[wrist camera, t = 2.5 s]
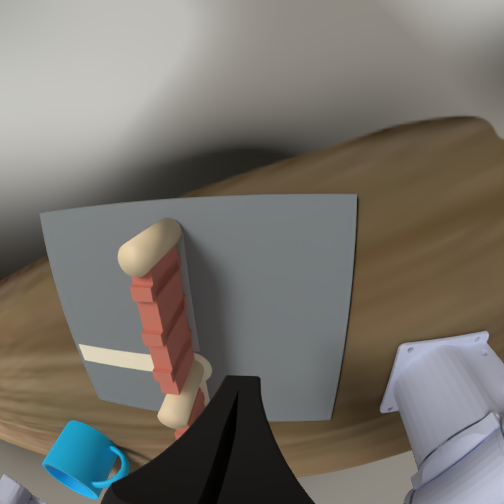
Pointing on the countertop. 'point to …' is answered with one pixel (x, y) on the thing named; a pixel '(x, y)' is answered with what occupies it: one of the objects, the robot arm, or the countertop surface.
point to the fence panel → (160, 301)
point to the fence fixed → (184, 402)
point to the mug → (84, 460)
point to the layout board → (217, 294)
